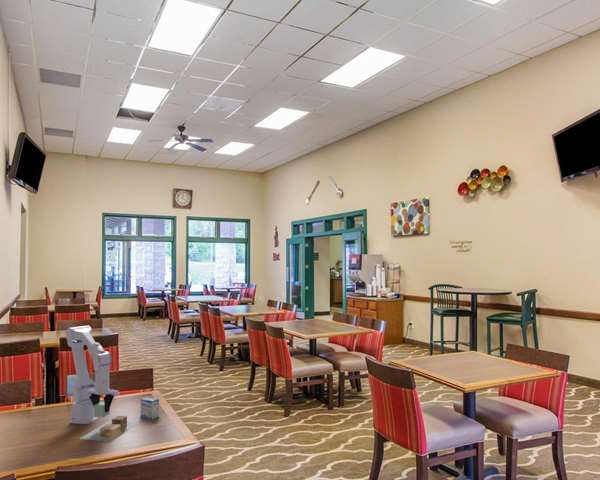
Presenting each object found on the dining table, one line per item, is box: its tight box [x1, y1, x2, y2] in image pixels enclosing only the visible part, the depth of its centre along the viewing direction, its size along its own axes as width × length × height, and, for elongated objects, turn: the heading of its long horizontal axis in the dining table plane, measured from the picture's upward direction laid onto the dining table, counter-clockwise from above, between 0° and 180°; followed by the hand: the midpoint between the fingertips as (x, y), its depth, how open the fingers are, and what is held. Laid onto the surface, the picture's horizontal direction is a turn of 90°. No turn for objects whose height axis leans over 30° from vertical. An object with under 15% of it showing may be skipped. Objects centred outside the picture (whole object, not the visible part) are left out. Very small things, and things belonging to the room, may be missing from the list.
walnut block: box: [111, 415, 128, 431], centre depth 204 cm, size 4×4×5 cm
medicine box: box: [140, 396, 160, 420], centre depth 220 cm, size 8×4×9 cm, turn 62°
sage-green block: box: [94, 401, 111, 418], centre depth 205 cm, size 4×4×5 cm
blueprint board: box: [79, 419, 140, 442], centre depth 203 cm, size 15×22×1 cm
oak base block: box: [100, 424, 121, 438], centre depth 197 cm, size 6×6×4 cm
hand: (102, 411), depth 205 cm, fingers closed on sage-green block, 4 cm apart
